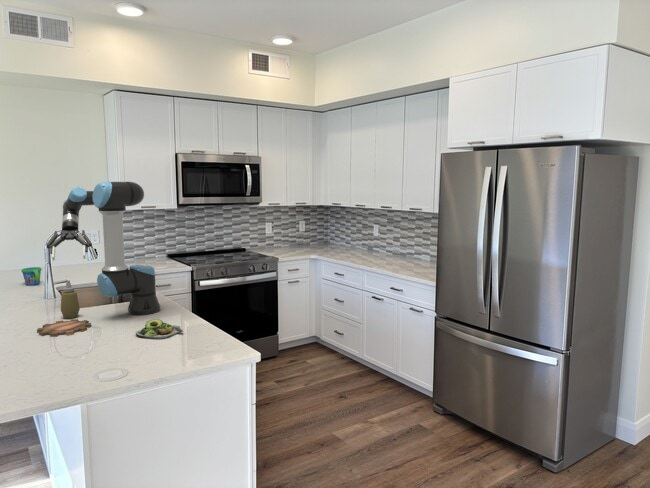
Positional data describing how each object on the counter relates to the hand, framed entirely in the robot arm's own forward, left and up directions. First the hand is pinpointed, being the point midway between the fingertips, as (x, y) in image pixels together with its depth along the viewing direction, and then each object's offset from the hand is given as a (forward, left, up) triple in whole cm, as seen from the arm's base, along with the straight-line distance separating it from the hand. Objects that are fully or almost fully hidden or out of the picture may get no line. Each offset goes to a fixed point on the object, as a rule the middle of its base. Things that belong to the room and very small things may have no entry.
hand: (69, 257), depth 238 cm
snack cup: (+70, -46, -27) cm, 88 cm away
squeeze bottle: (-6, +8, -27) cm, 29 cm away
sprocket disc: (-17, +24, -27) cm, 40 cm away
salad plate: (-60, +18, -28) cm, 69 cm away
